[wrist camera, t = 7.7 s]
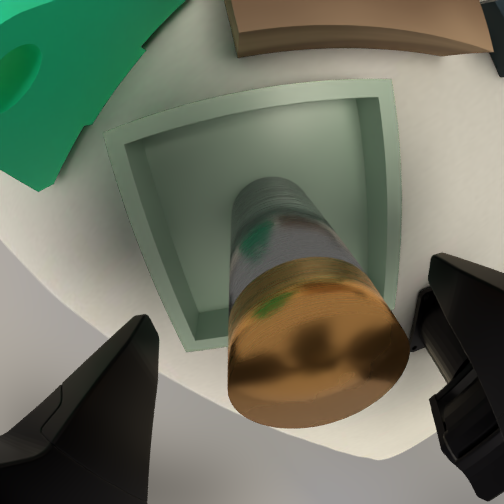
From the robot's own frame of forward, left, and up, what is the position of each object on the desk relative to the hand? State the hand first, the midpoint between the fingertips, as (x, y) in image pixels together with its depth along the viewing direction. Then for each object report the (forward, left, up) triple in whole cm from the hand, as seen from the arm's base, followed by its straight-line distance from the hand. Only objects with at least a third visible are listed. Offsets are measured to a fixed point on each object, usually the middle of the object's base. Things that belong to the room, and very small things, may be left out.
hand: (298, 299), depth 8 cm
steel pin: (0, 0, -7) cm, 7 cm away
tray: (0, 0, -8) cm, 8 cm away
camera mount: (+11, +8, -8) cm, 16 cm away
